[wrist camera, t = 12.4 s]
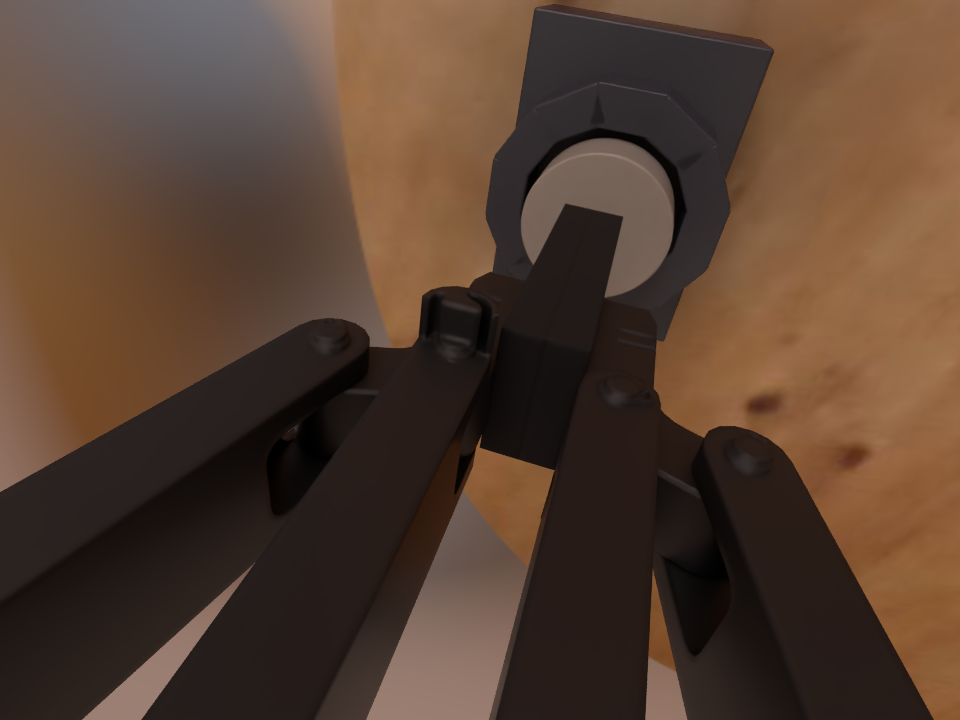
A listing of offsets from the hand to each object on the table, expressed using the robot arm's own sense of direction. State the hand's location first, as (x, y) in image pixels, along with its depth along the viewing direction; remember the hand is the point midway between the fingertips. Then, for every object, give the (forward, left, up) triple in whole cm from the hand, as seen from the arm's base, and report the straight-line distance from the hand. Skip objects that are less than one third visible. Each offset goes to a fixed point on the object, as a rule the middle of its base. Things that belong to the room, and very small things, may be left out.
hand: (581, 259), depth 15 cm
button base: (0, 0, -9) cm, 9 cm away
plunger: (0, 0, -4) cm, 4 cm away
